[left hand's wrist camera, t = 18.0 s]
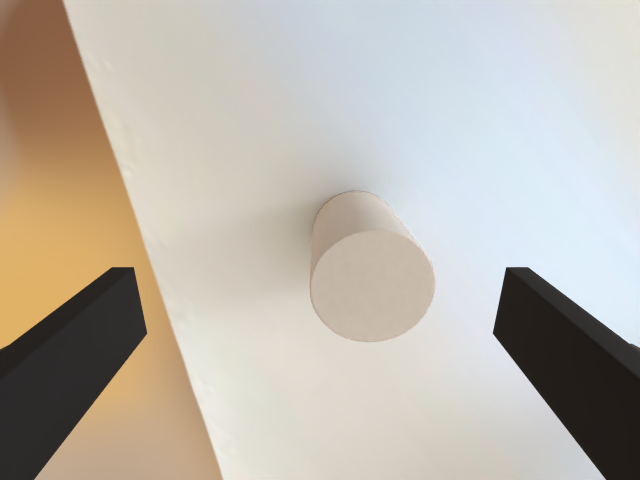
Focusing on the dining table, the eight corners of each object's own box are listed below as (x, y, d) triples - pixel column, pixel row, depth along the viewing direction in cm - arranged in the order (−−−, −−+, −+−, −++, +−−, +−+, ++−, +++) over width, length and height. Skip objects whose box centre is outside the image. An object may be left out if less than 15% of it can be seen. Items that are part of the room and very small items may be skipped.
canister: (327, 179, 30) (332, 213, 20) (410, 205, 31) (456, 251, 21) (301, 258, 33) (294, 325, 22) (379, 280, 34) (407, 355, 23)
